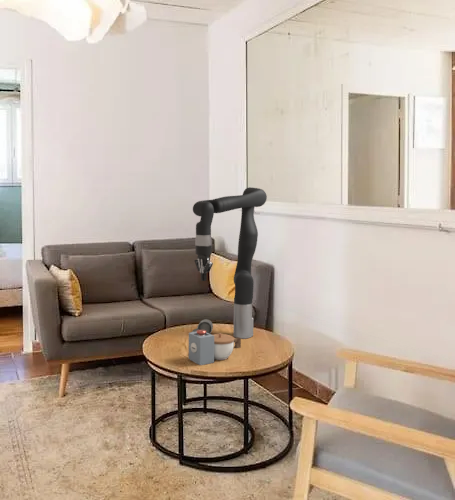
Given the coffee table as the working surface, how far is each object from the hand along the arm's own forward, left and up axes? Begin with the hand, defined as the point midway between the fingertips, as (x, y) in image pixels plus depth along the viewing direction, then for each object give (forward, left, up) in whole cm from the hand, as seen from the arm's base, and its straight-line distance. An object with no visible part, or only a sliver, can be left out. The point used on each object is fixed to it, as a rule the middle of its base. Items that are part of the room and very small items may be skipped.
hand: (203, 280), depth 278 cm
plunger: (+12, +19, -24) cm, 33 cm away
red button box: (+12, +19, -32) cm, 39 cm away
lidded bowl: (+3, +19, -32) cm, 37 cm away
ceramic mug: (-11, -18, -32) cm, 39 cm away
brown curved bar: (-2, +10, -32) cm, 33 cm away
